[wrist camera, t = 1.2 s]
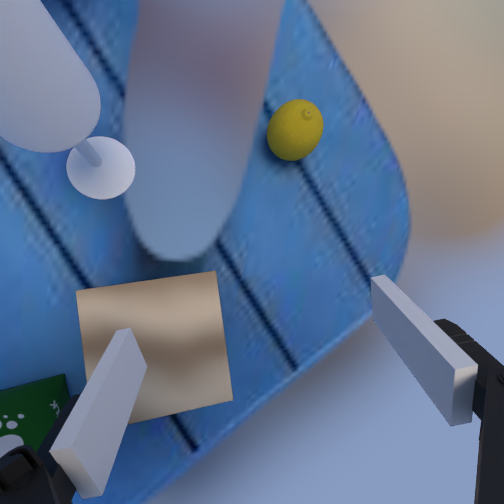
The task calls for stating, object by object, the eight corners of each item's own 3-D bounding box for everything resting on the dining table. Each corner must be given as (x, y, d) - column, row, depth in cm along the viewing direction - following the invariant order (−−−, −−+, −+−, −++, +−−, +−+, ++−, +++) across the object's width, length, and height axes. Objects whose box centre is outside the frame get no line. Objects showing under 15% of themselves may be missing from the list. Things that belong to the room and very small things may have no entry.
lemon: (303, 173, 36) (334, 146, 28) (258, 166, 35) (277, 137, 27) (306, 127, 37) (337, 89, 29) (261, 120, 36) (281, 78, 28)
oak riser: (97, 286, 31) (75, 290, 25) (211, 270, 33) (215, 270, 28) (111, 401, 31) (93, 432, 25) (225, 376, 33) (233, 400, 27)
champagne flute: (81, 209, 31) (-246, 24, 8) (55, 147, 31) (-361, -230, 8) (145, 186, 33) (32, -28, 9) (120, 128, 32) (-61, -244, 9)
